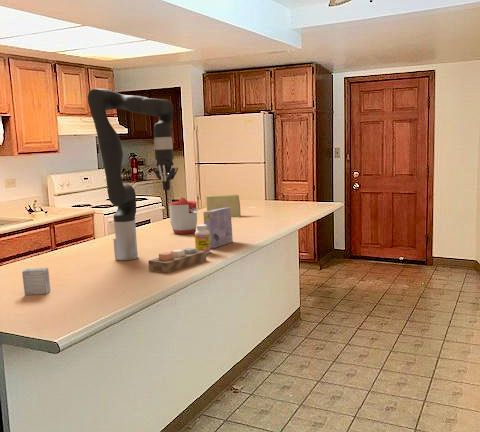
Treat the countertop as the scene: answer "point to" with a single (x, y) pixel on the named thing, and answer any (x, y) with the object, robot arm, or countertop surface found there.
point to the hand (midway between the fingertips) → (166, 190)
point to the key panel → (177, 262)
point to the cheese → (224, 203)
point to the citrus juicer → (183, 216)
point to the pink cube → (165, 256)
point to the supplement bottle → (202, 238)
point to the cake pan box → (219, 226)
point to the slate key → (189, 250)
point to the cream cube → (178, 253)
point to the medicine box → (36, 281)
